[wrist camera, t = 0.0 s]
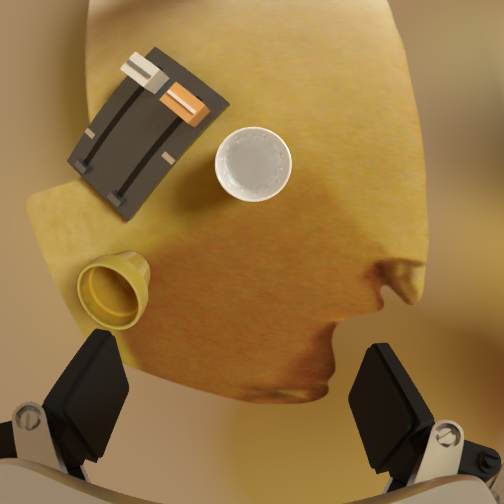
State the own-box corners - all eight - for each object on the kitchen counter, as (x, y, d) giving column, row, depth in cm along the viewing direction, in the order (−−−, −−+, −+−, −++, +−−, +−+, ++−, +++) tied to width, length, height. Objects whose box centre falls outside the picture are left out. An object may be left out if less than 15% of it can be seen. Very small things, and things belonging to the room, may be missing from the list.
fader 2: (184, 89, 31) (175, 80, 26) (210, 111, 32) (204, 104, 28) (169, 105, 32) (158, 99, 27) (194, 127, 33) (187, 123, 28)
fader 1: (146, 61, 29) (134, 51, 25) (169, 78, 30) (159, 68, 26) (132, 76, 30) (118, 68, 25) (154, 94, 31) (142, 86, 26)
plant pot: (128, 307, 44) (106, 339, 34) (95, 258, 41) (64, 282, 31) (173, 283, 42) (156, 315, 33) (138, 228, 39) (109, 248, 30)
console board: (157, 50, 30) (152, 43, 27) (229, 105, 33) (228, 101, 31) (72, 160, 35) (62, 161, 32) (132, 218, 39) (124, 223, 36)
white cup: (226, 193, 38) (218, 205, 28) (220, 138, 35) (211, 130, 26) (282, 188, 38) (293, 199, 28) (278, 133, 35) (288, 124, 26)
